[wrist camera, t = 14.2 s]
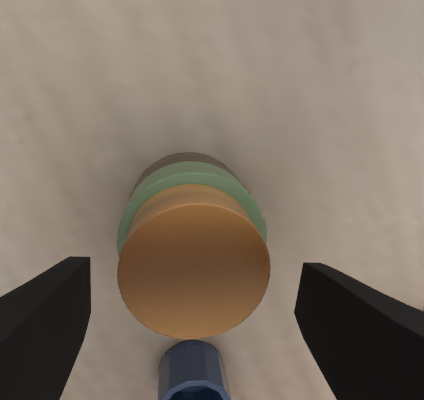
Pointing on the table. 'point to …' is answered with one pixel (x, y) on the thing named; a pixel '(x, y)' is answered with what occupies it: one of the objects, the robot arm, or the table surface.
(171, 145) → the table surface
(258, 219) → the sage chip
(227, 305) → the orange short cylinder
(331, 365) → the robot arm
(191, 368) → the small cup
